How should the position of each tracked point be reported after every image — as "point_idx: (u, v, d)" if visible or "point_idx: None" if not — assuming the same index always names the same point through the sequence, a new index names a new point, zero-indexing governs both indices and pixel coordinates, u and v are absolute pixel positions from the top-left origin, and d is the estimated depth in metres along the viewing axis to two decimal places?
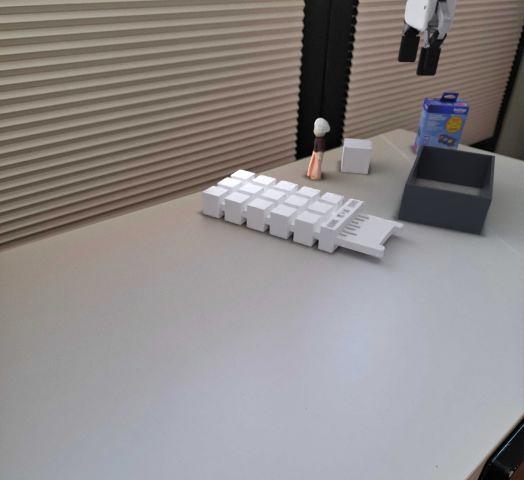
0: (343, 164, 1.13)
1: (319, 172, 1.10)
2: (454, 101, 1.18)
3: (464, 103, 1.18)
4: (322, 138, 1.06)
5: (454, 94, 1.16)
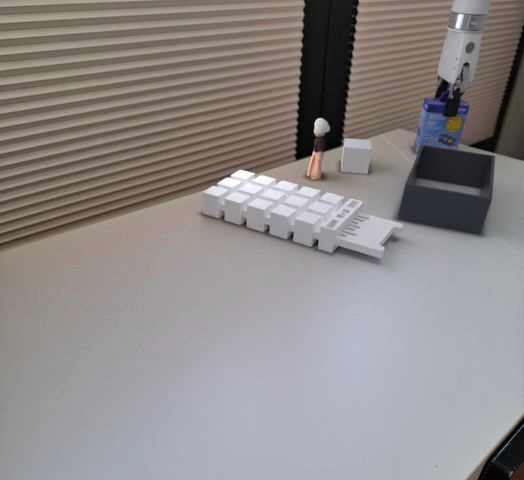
0: (343, 164, 1.13)
1: (319, 172, 1.10)
2: None
3: (464, 103, 1.18)
4: (322, 138, 1.06)
5: None
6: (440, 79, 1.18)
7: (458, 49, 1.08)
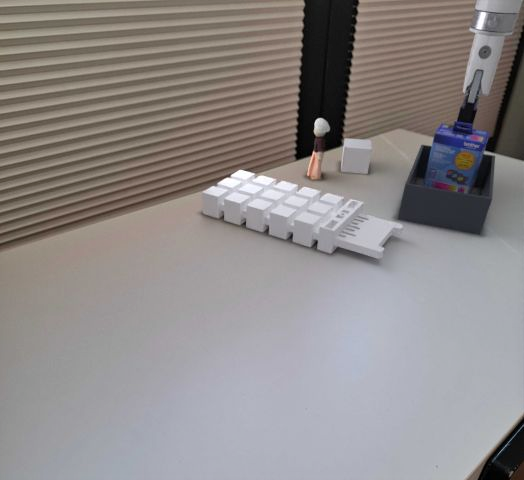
0: (343, 164, 1.13)
1: (319, 172, 1.10)
2: (470, 133, 0.99)
3: (481, 137, 0.98)
4: (322, 138, 1.06)
5: (467, 125, 0.97)
6: None
7: (472, 53, 0.92)
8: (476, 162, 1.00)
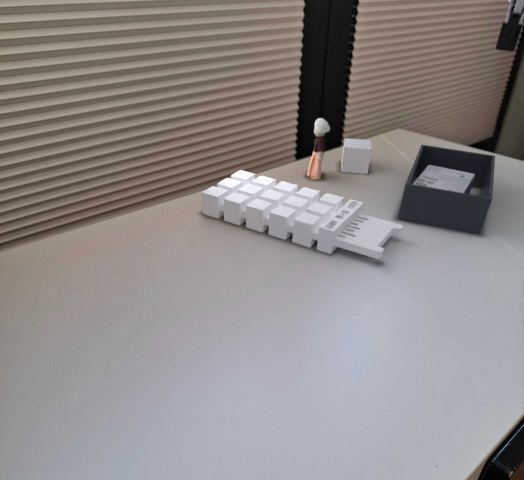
0: (343, 164, 1.13)
1: (319, 172, 1.10)
2: None
3: None
4: (322, 138, 1.06)
5: None
6: (509, 6, 0.87)
7: None
8: None
